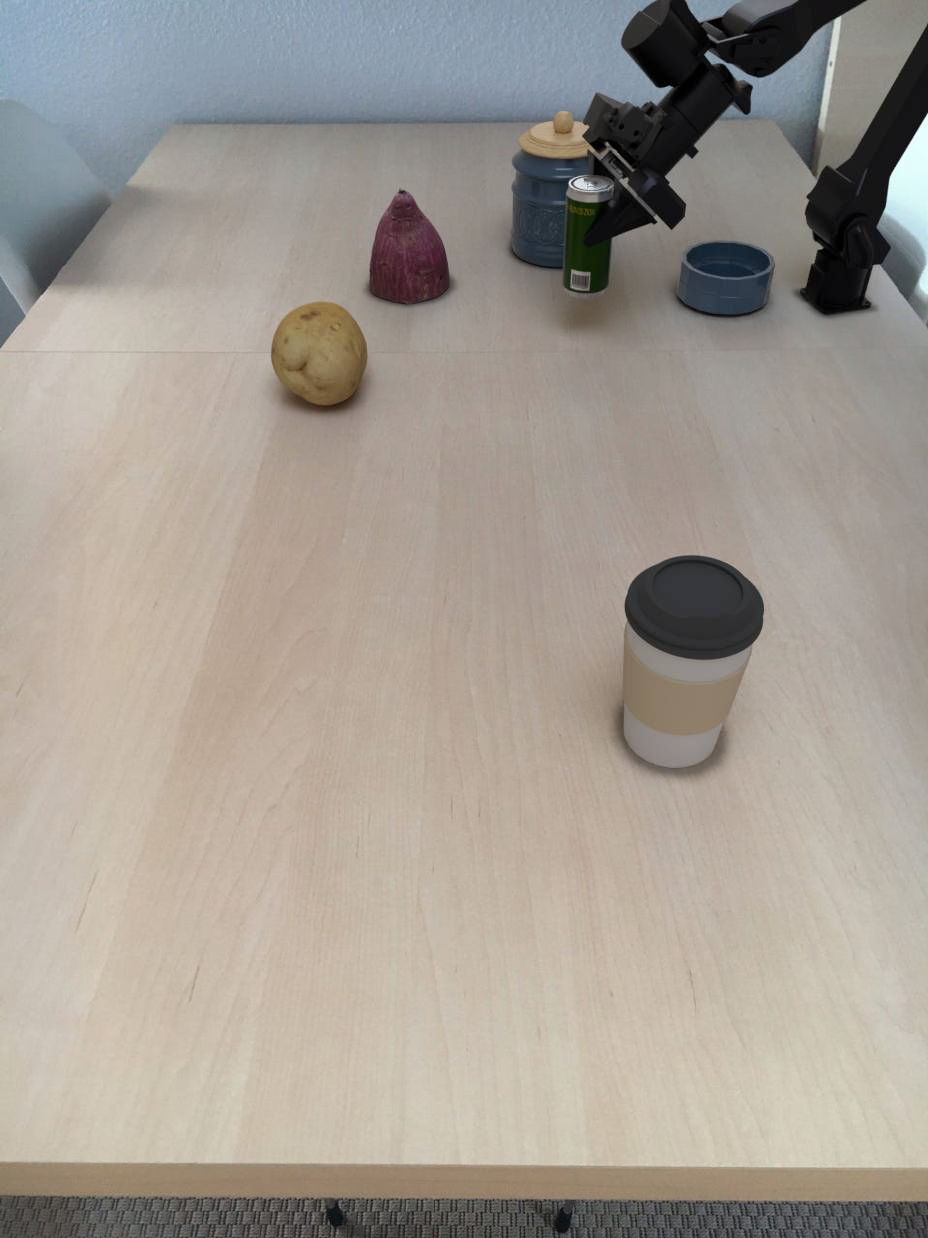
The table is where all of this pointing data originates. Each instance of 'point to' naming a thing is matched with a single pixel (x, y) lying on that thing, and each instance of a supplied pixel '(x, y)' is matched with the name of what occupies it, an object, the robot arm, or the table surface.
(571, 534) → the table surface
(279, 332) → the potato
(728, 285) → the bowl
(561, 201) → the canister
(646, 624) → the coffee cup
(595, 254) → the beer can
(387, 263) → the vegetable
